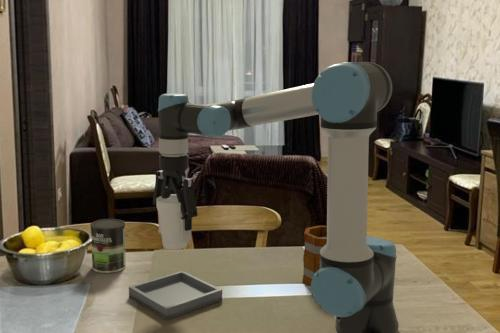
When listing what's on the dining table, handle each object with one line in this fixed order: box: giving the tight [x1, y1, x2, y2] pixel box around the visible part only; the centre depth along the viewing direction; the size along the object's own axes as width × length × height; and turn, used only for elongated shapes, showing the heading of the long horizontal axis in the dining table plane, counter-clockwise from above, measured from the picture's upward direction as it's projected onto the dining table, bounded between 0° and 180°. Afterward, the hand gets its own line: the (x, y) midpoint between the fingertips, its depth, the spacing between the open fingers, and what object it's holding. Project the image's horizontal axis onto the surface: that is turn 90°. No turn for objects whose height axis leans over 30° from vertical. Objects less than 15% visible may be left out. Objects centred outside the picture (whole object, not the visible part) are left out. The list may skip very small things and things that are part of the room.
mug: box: [301, 225, 327, 288], centre depth 174 cm, size 20×14×15 cm
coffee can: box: [90, 218, 127, 274], centre depth 182 cm, size 10×10×14 cm
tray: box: [128, 270, 223, 320], centre depth 161 cm, size 18×18×3 cm
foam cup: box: [155, 193, 188, 251], centre depth 157 cm, size 10×9×13 cm
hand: (174, 236), depth 158 cm, fingers closed on foam cup, 9 cm apart
